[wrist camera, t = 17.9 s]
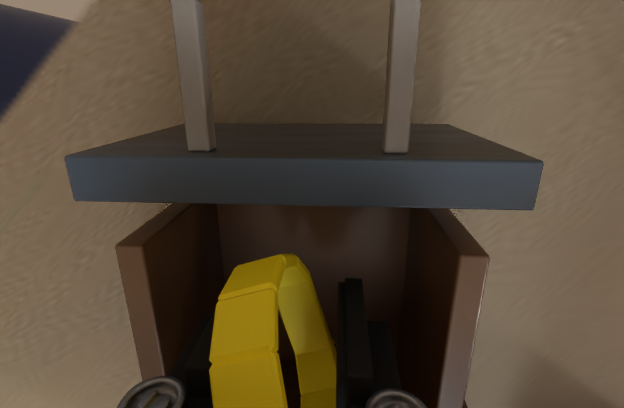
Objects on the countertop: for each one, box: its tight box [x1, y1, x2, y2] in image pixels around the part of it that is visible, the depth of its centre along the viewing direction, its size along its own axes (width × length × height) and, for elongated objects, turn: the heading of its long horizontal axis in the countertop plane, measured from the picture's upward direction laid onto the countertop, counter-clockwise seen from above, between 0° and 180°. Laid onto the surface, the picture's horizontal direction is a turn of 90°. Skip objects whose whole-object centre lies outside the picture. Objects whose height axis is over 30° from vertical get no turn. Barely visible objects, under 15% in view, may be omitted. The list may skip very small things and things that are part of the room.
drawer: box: [64, 0, 543, 408], centre depth 13 cm, size 17×11×7 cm, turn 0°
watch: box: [209, 253, 337, 408], centre depth 9 cm, size 6×3×6 cm, turn 18°
